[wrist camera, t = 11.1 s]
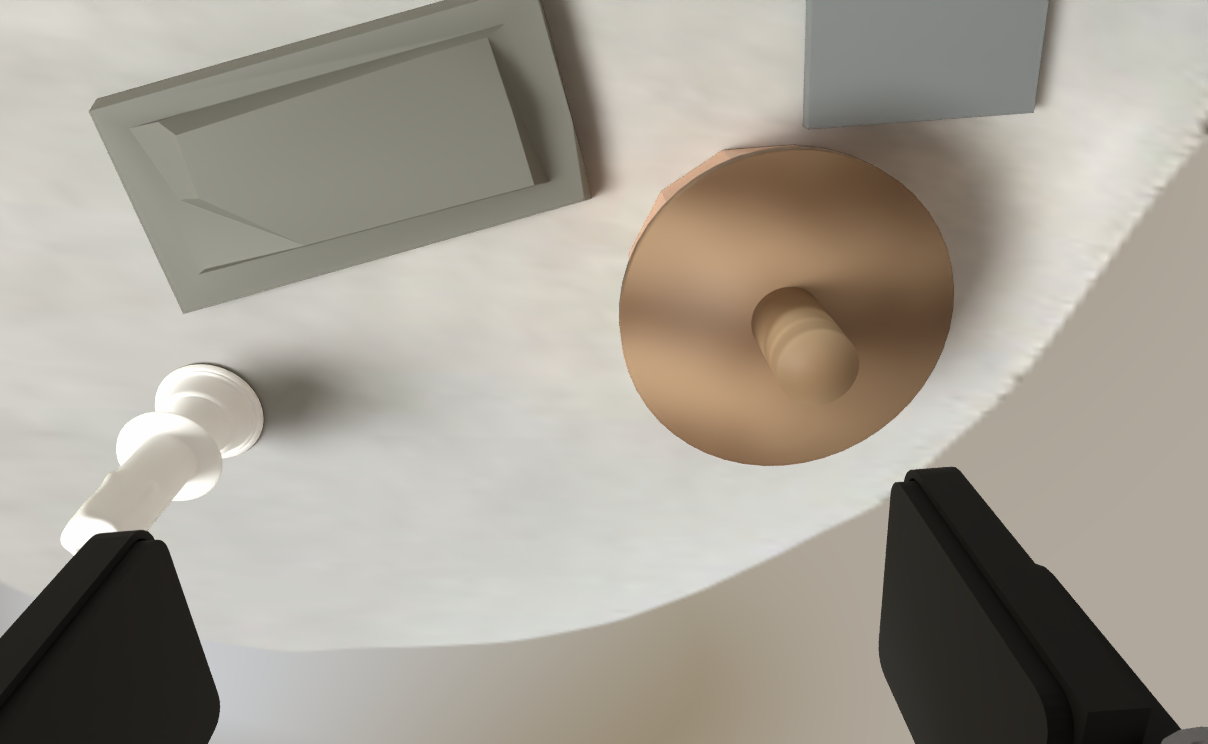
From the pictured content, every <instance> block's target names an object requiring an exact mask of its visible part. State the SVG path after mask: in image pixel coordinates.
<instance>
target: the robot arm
mask: <svg viewBox="0 0 1208 744" xmlns="http://www.w3.org/2000/svg"><path fill="white" fill-rule="evenodd" d="M886 547H887V548H886V559H885V571H884V584H883V597H882V609H881V621H880V633H879V657H880V663H881V667H882V670H883V673H884V676H885V678H886V680H887V683H888V685H889V687H890V689H891V691H892V693H893V696H894V698H895V700H896V702H897V704H898V707H899V709H900V711H901V713H902V715H903V718H904V720H905V722H906V724H907V726H908V729H909V731H910V733H911V735H912V737H913V740H914V742H915V744H1208V727H1196V728H1190V729H1183V730H1181V729H1180V727H1179V726H1178V725H1177V724H1176V722H1175V721H1174V720H1173V719H1172V718H1171V716H1170V715H1169V714H1168V713H1167V712H1166V711H1165V709H1164V708H1163V707H1162V705H1161V704H1160V703H1159V702H1158V701H1157V699H1156V698H1155V697H1154V696H1153V695H1152V693H1151V692H1150V691H1149V690H1148V689H1147V687H1146V686H1145V685H1144V684H1143V682H1141V680H1140V679H1139V678H1138V676H1137V675H1136V674H1135V673H1134V672H1133V670H1132V669H1131V668H1130V667H1129V666H1128V664H1127V663H1126V662H1125V661H1124V659H1123V658H1122V657H1121V656H1120V655H1119V653H1118V652H1117V651H1116V650H1115V649H1114V647H1113V646H1112V645H1111V644H1110V643H1109V641H1108V640H1107V639H1106V638H1105V636H1104V635H1103V634H1102V633H1101V632H1100V630H1099V629H1098V628H1097V627H1096V626H1095V625H1094V623H1093V622H1092V621H1091V620H1090V619H1089V617H1088V616H1087V615H1086V614H1085V612H1084V611H1083V610H1082V609H1081V608H1080V606H1079V605H1078V604H1077V603H1076V602H1075V600H1074V599H1073V598H1072V597H1071V595H1070V594H1069V593H1068V592H1067V591H1066V590H1065V588H1064V587H1063V586H1062V584H1061V583H1060V582H1059V581H1058V580H1057V579H1056V577H1055V576H1054V575H1053V574H1052V573H1051V572H1050V571H1049V570H1048V569H1047V568H1045V567H1044V566H1040V565H1038V564H1035V563H1034V562H1033V560H1032V559H1031V558H1030V557H1029V555H1028V554H1027V553H1026V552H1025V550H1024V549H1023V548H1022V547H1021V545H1020V544H1019V543H1018V542H1017V540H1016V539H1015V538H1014V537H1013V536H1012V534H1011V533H1010V532H1009V531H1008V529H1007V528H1006V527H1005V526H1004V525H1003V523H1002V522H1001V521H1000V519H999V518H998V517H997V516H996V515H995V513H994V512H993V511H992V510H991V508H990V507H989V506H988V505H987V503H986V502H985V501H984V500H983V499H982V497H981V496H980V495H979V494H978V493H977V491H976V490H975V489H974V487H973V486H972V485H971V484H970V482H969V481H968V480H967V479H966V478H965V476H964V475H963V474H962V473H961V471H959V470H958V469H957V468H956V467H942V468H929V469H916V470H910V471H908V472H907V474H906V476H905V479H904V482H895V483H894V484H893V486H892V489H891V496H890V510H889V521H888V534H887V546H886ZM219 712H220V700H219V696H218V692H217V689H216V686H215V684H214V681H213V678H212V675H211V672H210V669H209V666H208V663H207V660H206V657H205V654H204V652H203V648H202V646H201V643H200V640H199V637H198V634H197V631H196V628H195V625H194V622H193V619H192V616H191V614H190V611H189V608H188V605H187V602H186V599H185V596H184V593H183V590H182V587H181V584H180V582H179V579H178V576H177V573H176V570H175V567H174V564H173V561H172V558H171V555H170V552H169V550H168V548H167V546H166V544H165V543H164V542H163V541H161V540H154V538H153V536H152V535H151V534H150V533H149V532H148V531H145V530H132V531H119V532H106V533H99V534H95V535H94V536H92V537H91V538H90V539H89V540H88V541H87V542H86V543H85V544H84V545H83V546H82V547H81V549H80V550H79V551H78V552H77V553H76V554H75V555H74V556H73V558H72V559H71V560H70V561H69V562H68V563H67V564H66V565H65V566H64V568H63V569H62V570H61V571H60V572H59V573H58V574H57V575H56V577H55V578H54V579H53V580H52V581H51V582H50V583H49V584H48V585H47V587H46V588H45V589H44V590H43V591H42V592H41V593H40V594H39V595H38V597H37V598H36V599H35V600H34V601H33V602H32V603H31V604H30V606H29V607H28V608H27V609H26V610H25V611H24V612H23V613H22V614H21V616H20V617H19V618H18V619H17V620H16V621H15V622H14V623H13V625H12V626H11V627H10V628H9V629H8V630H7V631H6V632H5V633H4V635H3V636H2V637H1V638H0V744H208V742H209V740H210V738H211V736H212V734H213V732H214V730H215V728H216V725H217V723H218V718H219Z"/></svg>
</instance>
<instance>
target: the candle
mask: <svg viewBox="0 0 1208 744" xmlns="http://www.w3.org/2000/svg"><path fill="white" fill-rule="evenodd" d="M155 409H156V412H149V413H145V414H142V415H139V416H137V417H135V418H133V419H132V420H130V421H129V422H128V423H127V424H126V425H125V426H124V427H123V429H122V430H121V432H120V434H119V436H118V439H117V446H116V450H117V457H118V460H119V463H120V467H119V468H118V469H117V470H116V471H113V472H111V473H109V474H108V475H107V476H106V478H105V480H104V482H103V483H102V485H101V487H100V488H99V489H98V490H97V491H96V492H95V493H94V494H93V495H92V496H91V497H90V498H89V499H87V500H86V501H85V502H84V504H83V505H82V507H81V508H80V509H79V510H78V511H77V512H76V514H75V515H74V516H73V517H72V518H71V520H70V521H69V522H68V524H67V526H66V527H65V528H64V530H63V532H62V534H61V543H62V545H63V547H64V548H65V549H67V550H68V551H70V552H71V553H72V554H73V555H75V554H76V553H77V552H78V551H79V550H80V549H81V547H82V546H83V545H84V544H85V543H86V542H87V541H88V540H89V539H90V538H91V537H92V536H94V535H95V534H99V533H106V532H119V531H132V530H145V531H148V530H149V529H150V527H151V526H152V525H153V524H154V522H155V521H156V520H157V519H158V517H159V516H160V515H161V514H162V512H163V511H164V510H165V509H166V507H167V506H168V505H169V504H170V502H171V501H172V500H173V501H185V500H191V499H195V498H198V497H201V496H203V495H204V494H206V493H208V492H209V491H210V490H211V489H212V488H213V487H214V486H215V485H216V484H217V482H218V480H219V478H220V476H221V472H222V458H228V457H233V456H236V455H239V454H241V453H243V452H245V451H246V450H248V449H249V448H250V447H251V446H252V445H253V444H254V443H255V442H256V441H257V439H258V438H259V436H260V434H261V431H262V428H263V410H262V406H261V404H260V401H259V399H258V397H257V395H256V394H255V392H254V391H253V389H252V388H251V387H250V386H249V385H248V384H247V383H246V382H245V381H244V380H243V379H241V378H240V377H239V376H237V375H236V374H234V373H232V372H230V371H228V370H226V369H223V368H221V367H217V366H213V365H206V364H195V365H188V366H185V367H182V368H179V369H177V370H175V371H173V372H172V373H170V374H169V375H168V376H167V377H166V378H165V379H164V380H163V381H162V383H161V384H160V386H159V388H158V390H157V393H156V398H155Z"/></svg>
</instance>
